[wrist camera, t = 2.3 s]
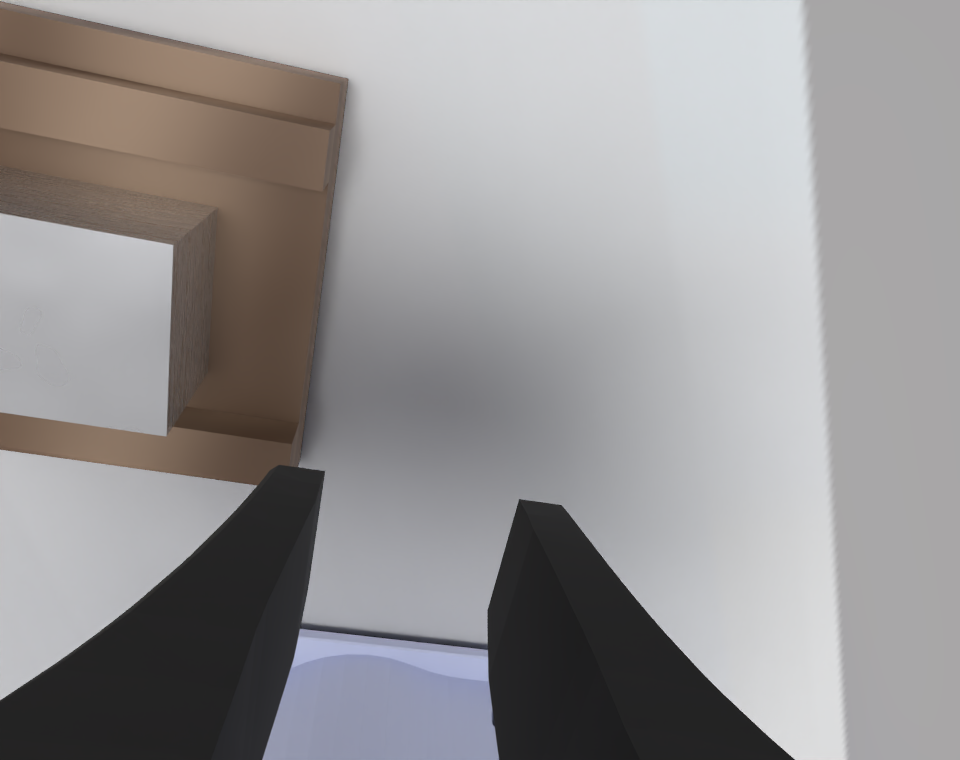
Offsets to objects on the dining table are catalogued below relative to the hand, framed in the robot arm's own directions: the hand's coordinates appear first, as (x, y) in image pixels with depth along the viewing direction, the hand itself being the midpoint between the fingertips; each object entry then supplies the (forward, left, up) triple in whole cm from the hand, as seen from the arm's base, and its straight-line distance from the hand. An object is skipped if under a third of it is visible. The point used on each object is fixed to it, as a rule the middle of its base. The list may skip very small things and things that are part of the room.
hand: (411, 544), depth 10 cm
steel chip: (+7, 0, -8) cm, 11 cm away
